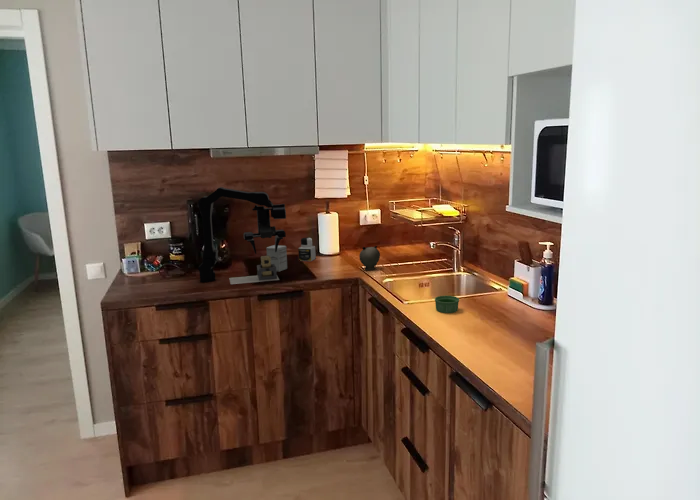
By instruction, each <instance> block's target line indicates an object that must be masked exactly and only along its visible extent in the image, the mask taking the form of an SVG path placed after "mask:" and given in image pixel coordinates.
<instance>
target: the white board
mask: <svg viewBox="0 0 700 500" xmlns="http://www.w3.org/2000/svg"><path fill="white" fill-rule="evenodd" d="M228 279H229V283H230V285H236V284H237V285H241V284H251V283H259V282H260V283H261V282H271V281H272V282H273V281H280V278H279V276H278V275H277V279H271V280H260V281H259V279H258V275H257V274H256V275H249V276H247V275H246V276H238V277H229V278H228Z"/></svg>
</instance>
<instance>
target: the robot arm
mask: <svg viewBox="0 0 700 500" xmlns="http://www.w3.org/2000/svg"><path fill="white" fill-rule="evenodd" d="M220 198H231V199H237V200H241V201H247V202H250V203H252V204H255V205H254V207H253V208H252V209H251V210H252V211H253V212H254V211H256V218H257V219H256V220H257V223H256V224H257V232H256V233H253V232H252V231H247V232H246V231H244V233H243V239H244V241H247V243H250V244H251V246H252V249H253V252H254V254H255V255H257V248H256V244H255V239H254V238H261V239H267V238H268V239H270V238H271V239H272V237H274V245H275V252H277V248H278V245H279V244H280V241H281V240H283V239H284V238H285V237H287V234H286V231H285V230H284V229H276V226H275V225H274V226H271V218H273V220H284V219H285V220H286V219H287V213H286V212H287V211H286V205H285V203H280V204H279V203H278V204H274V203H273V202H272V201H271V199H270V197H269V194H268V193H267V192H265V191H246V190H245V191H244V190H240V189H239V190H238V189H232V188H226V187H223V186H220V187H218V188H217V189H216V190H214V191H213V192H212V193H210V194H209V195H205V196H203V197H201V198H199V199H198V202H197V207H198V209H199V212H200V216H201V218H202V219H201V221H202V231H203V232H202V233H203V235H202V236H203V245H204V246H203V254H202V262H201V263H200V265H199V266H198V267H197V269H198V272H199V282H200V283H210V282H211V283H212V282H215V281H216V271H215V270H214V266H215V265H216V263H217V262H218V259H220V258H219V249H215V246H214V235H213V234H214V233H213V220H212V217H213V216H212V215H213V210H214V203H215V202H217V200H219V199H220ZM258 205H259V206H258Z"/></svg>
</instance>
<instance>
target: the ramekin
mask: <svg viewBox="0 0 700 500" xmlns="http://www.w3.org/2000/svg"><path fill="white" fill-rule="evenodd" d="M434 302H435V303H434V304H435V310H436V311H437V312H438V313H440V314H441V313H442V314H453V313H457V312H458V310H459V302H460V298H459V297H457V296H454V295H439V296H435V298H434Z"/></svg>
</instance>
